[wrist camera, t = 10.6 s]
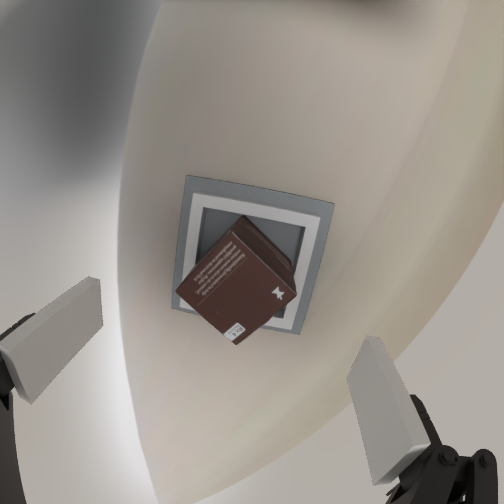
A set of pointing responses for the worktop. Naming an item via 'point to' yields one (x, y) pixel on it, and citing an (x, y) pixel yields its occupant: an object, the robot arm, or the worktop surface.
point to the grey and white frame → (267, 221)
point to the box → (240, 281)
